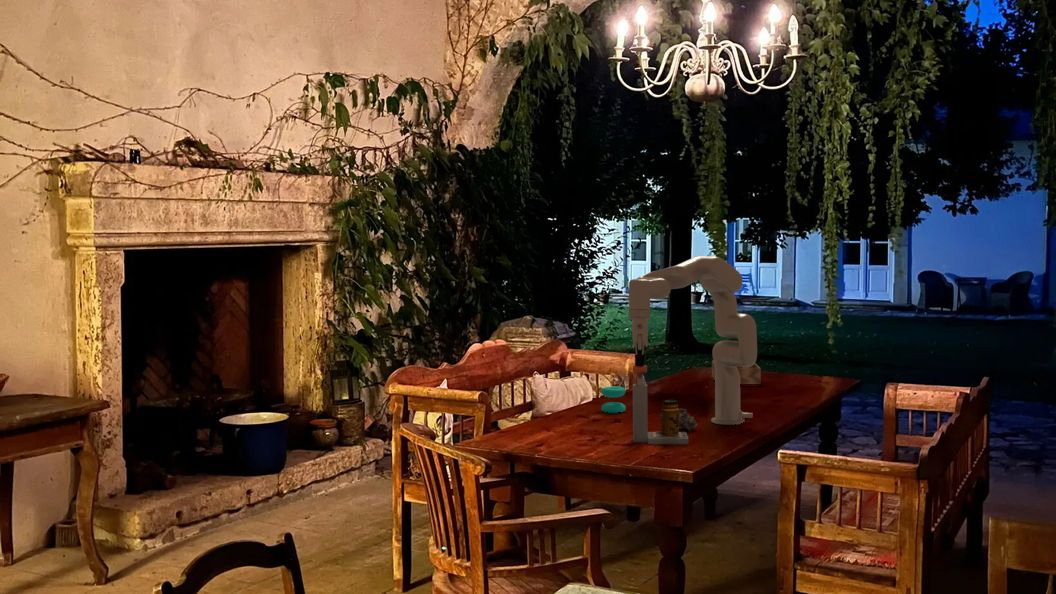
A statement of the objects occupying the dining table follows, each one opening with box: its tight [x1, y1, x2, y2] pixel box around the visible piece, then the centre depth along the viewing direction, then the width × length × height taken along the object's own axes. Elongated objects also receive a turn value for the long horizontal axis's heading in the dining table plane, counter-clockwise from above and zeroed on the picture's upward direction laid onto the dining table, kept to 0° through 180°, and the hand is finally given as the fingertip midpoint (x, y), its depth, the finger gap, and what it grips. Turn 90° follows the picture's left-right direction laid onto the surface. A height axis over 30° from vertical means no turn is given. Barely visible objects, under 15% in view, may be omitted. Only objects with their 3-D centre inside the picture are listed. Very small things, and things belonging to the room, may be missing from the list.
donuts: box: [600, 385, 627, 414], centre depth 432 cm, size 10×10×10 cm
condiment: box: [655, 399, 681, 436], centre depth 371 cm, size 7×8×12 cm
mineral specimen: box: [659, 407, 698, 432], centre depth 391 cm, size 12×9×10 cm
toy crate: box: [711, 360, 762, 384], centre depth 508 cm, size 20×29×9 cm
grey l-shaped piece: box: [632, 383, 690, 445], centre depth 371 cm, size 19×12×20 cm, turn 85°
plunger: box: [632, 364, 648, 386], centre depth 371 cm, size 5×5×13 cm
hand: (639, 365), depth 370 cm, fingers closed
